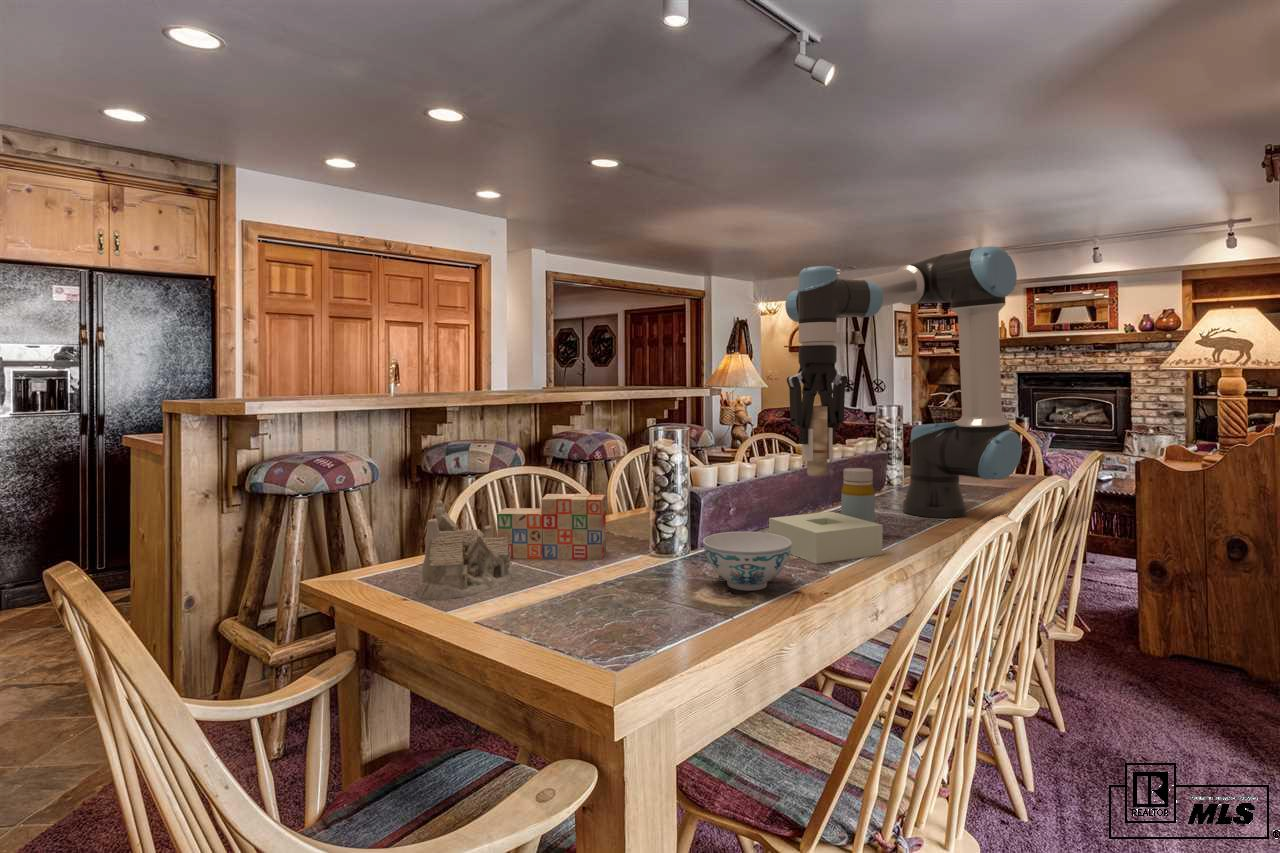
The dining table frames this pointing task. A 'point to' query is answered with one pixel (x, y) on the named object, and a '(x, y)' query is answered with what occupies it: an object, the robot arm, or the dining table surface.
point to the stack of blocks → (556, 528)
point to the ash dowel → (818, 442)
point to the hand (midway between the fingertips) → (817, 459)
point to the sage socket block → (829, 536)
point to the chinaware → (747, 557)
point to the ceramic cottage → (461, 560)
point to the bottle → (858, 494)
